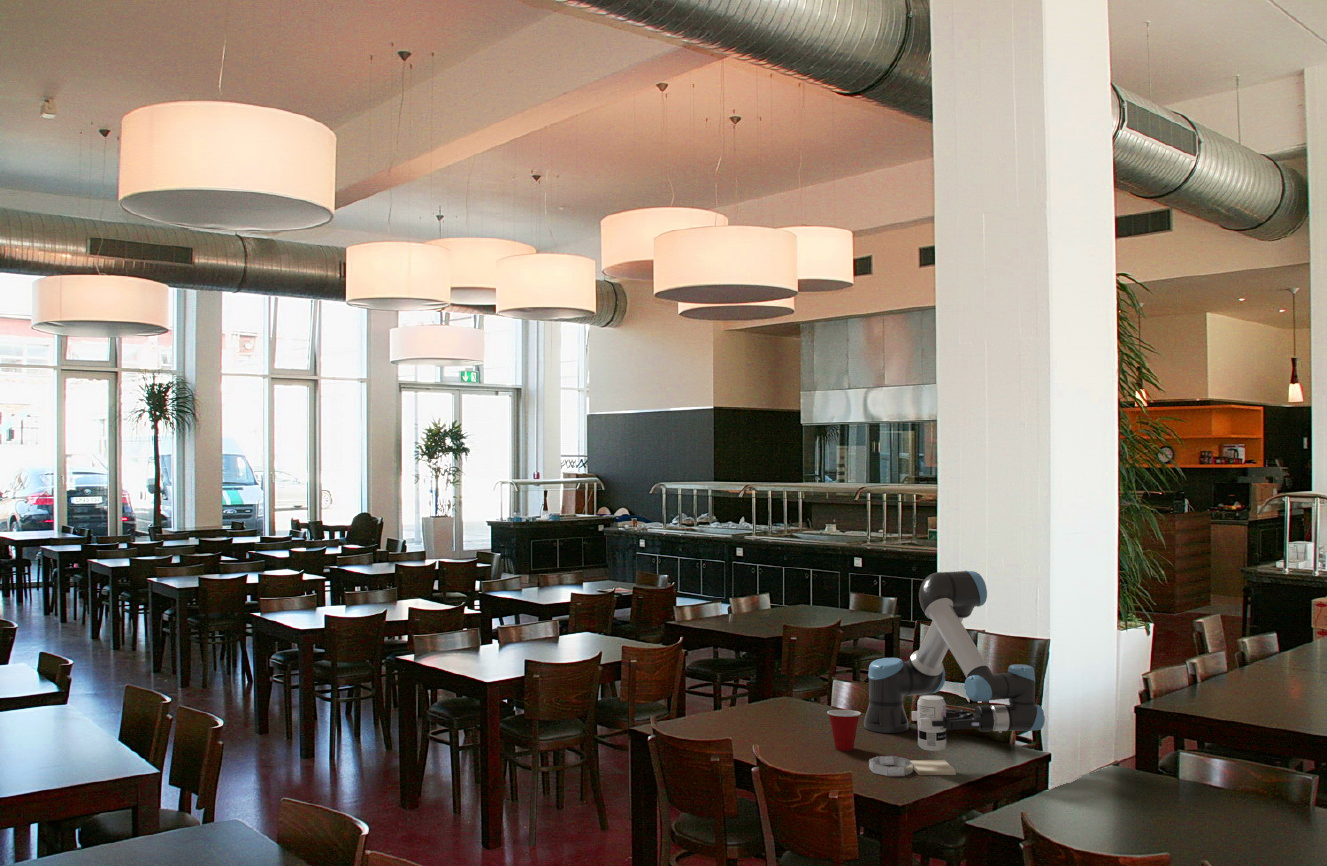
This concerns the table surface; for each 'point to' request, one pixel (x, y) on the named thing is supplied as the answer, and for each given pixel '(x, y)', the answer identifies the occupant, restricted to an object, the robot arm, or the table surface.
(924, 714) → the supplement can
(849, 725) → the plastic cup
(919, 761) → the board
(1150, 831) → the table surface
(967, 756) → the table surface
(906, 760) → the collar
